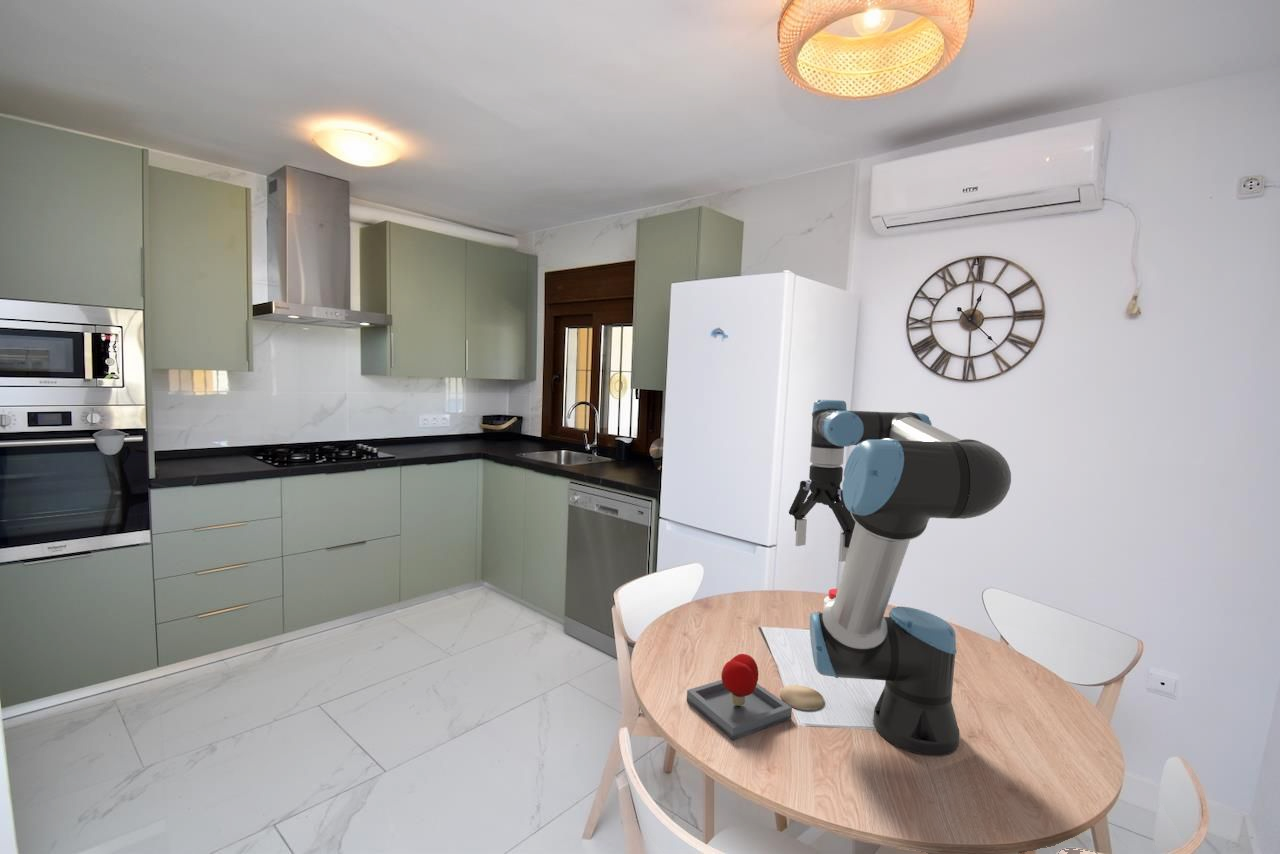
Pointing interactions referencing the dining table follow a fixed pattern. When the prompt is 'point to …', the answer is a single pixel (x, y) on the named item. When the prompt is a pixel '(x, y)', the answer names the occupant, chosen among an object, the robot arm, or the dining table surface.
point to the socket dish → (738, 709)
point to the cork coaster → (801, 697)
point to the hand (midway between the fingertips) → (821, 552)
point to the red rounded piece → (740, 677)
